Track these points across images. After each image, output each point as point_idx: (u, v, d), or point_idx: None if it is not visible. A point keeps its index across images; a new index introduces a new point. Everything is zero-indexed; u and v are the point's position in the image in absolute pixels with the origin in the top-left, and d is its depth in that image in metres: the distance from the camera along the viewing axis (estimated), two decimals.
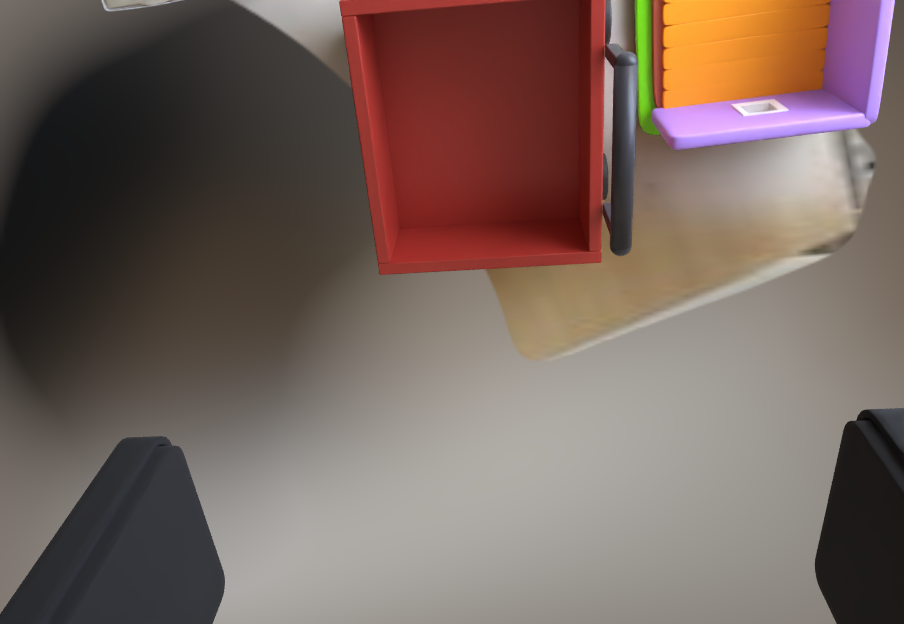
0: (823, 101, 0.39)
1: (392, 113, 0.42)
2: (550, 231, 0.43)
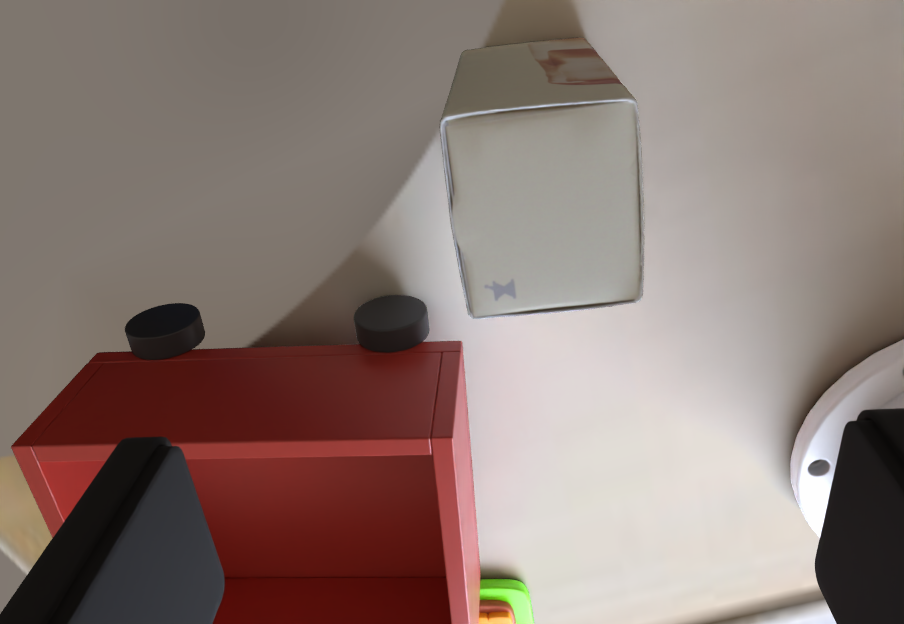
0: None
1: None
2: None
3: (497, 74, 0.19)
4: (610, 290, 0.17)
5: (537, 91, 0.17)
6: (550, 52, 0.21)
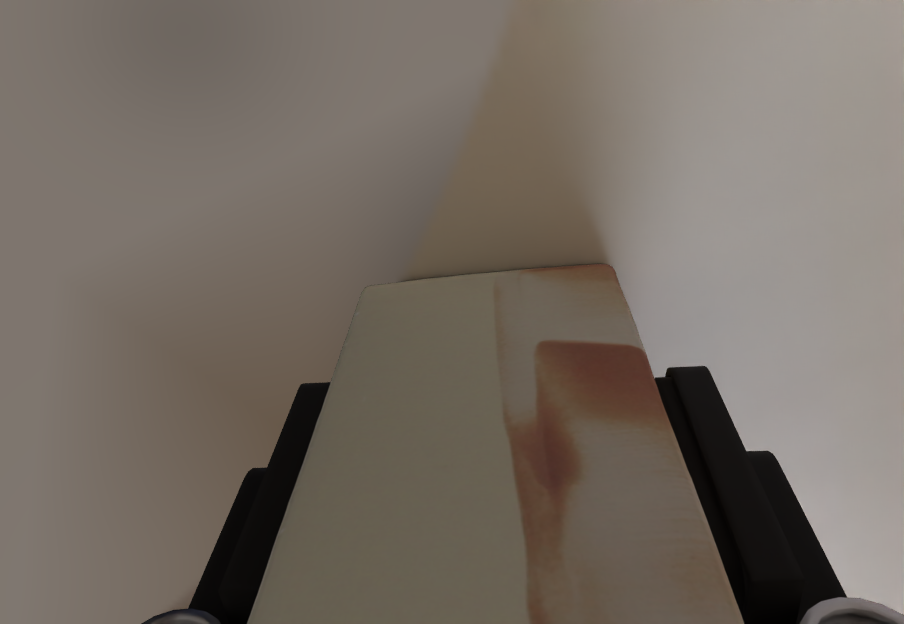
0: None
1: None
2: None
3: (392, 538, 0.07)
4: None
5: None
6: (541, 359, 0.09)
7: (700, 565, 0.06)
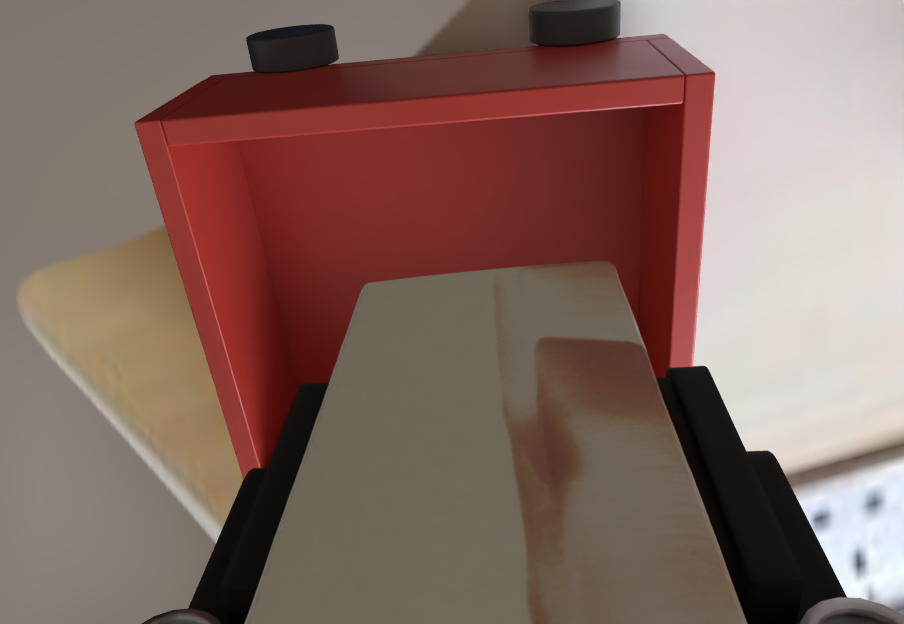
0: None
1: None
2: (274, 373, 0.26)
3: (392, 533, 0.07)
4: None
5: None
6: (541, 355, 0.09)
7: (701, 560, 0.06)
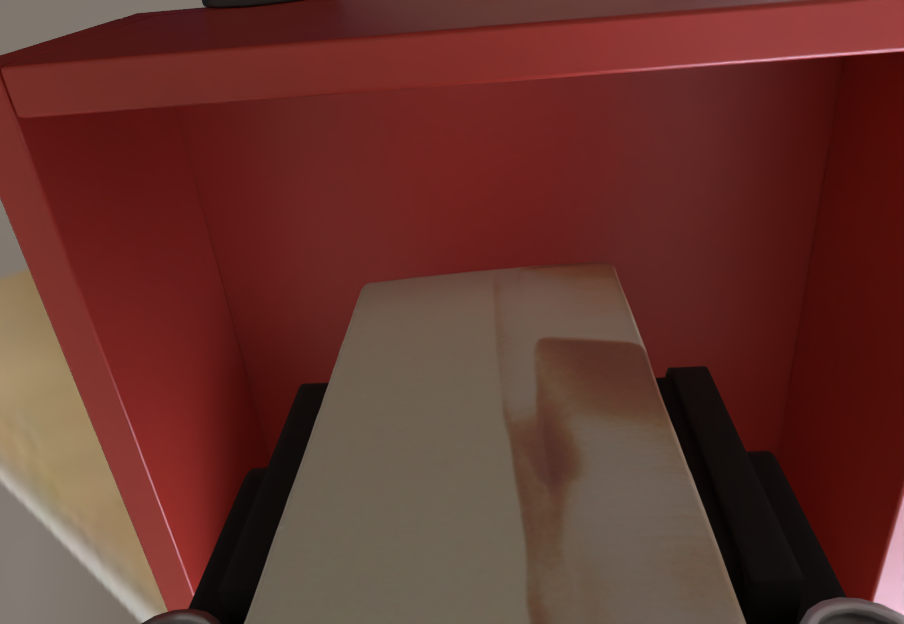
0: None
1: None
2: (237, 474, 0.17)
3: (392, 535, 0.07)
4: None
5: None
6: (541, 356, 0.09)
7: (700, 562, 0.06)
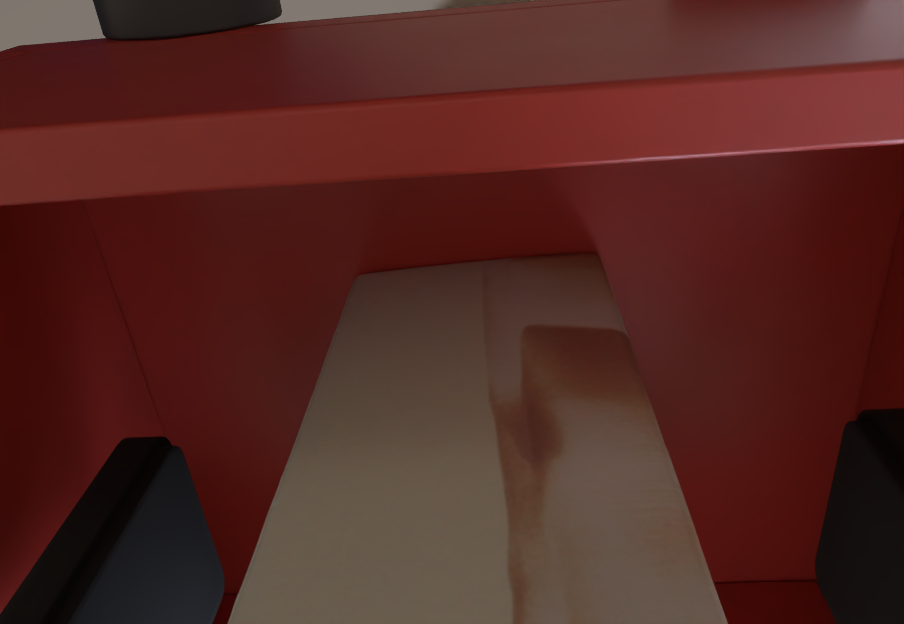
0: None
1: None
2: None
3: (380, 509, 0.07)
4: None
5: None
6: (527, 342, 0.10)
7: (673, 531, 0.06)
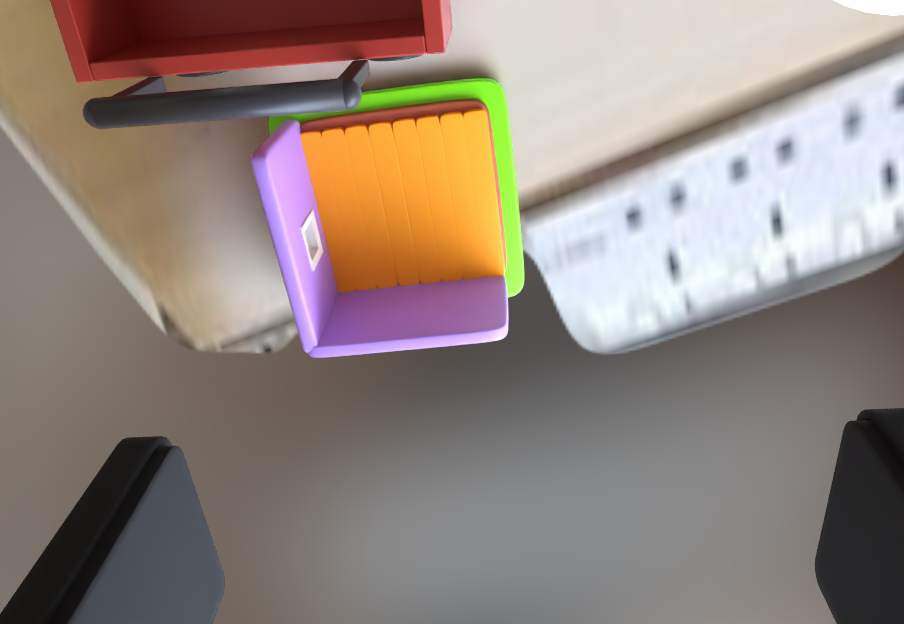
0: (325, 300, 0.37)
1: None
2: (109, 0, 0.30)
3: None
4: None
5: None
6: None
7: None
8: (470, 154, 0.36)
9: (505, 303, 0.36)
